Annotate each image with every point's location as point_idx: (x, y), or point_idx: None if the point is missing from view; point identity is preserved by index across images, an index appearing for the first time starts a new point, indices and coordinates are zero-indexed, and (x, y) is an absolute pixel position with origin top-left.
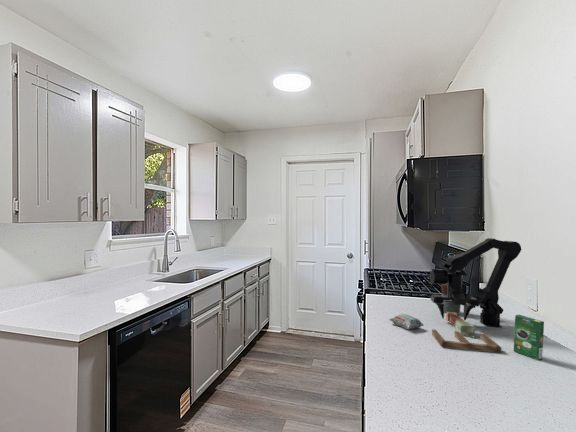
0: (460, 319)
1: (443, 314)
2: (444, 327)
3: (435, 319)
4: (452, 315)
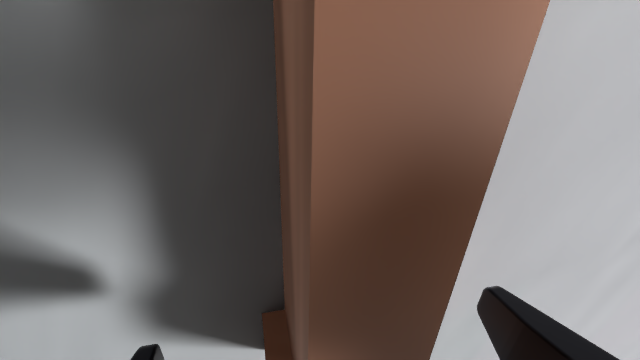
0: (406, 40)
1: (551, 336)
2: (580, 11)
3: None
4: (435, 338)
